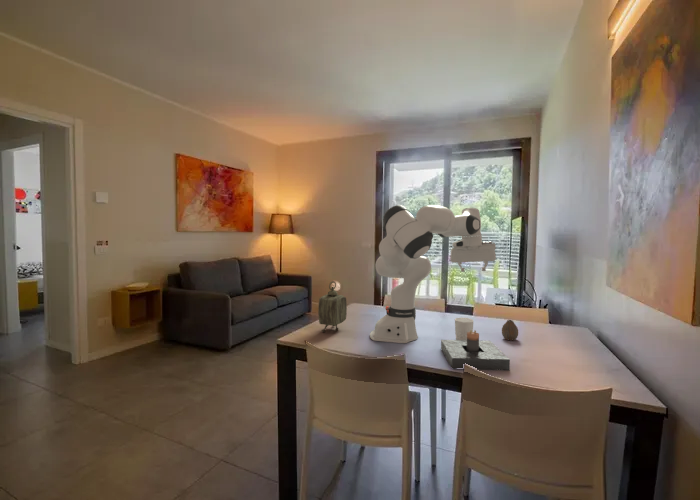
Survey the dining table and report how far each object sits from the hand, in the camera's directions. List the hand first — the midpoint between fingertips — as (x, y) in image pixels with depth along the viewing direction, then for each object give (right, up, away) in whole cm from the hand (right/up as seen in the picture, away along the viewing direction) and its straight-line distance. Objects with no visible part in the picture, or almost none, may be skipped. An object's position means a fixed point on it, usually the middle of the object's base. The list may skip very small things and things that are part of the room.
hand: (473, 271), depth 153 cm
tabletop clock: (-67, -31, +10) cm, 74 cm away
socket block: (-11, -32, -28) cm, 44 cm away
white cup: (-7, -31, -8) cm, 33 cm away
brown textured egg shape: (+15, -31, -5) cm, 35 cm away
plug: (-11, -32, -28) cm, 44 cm away
